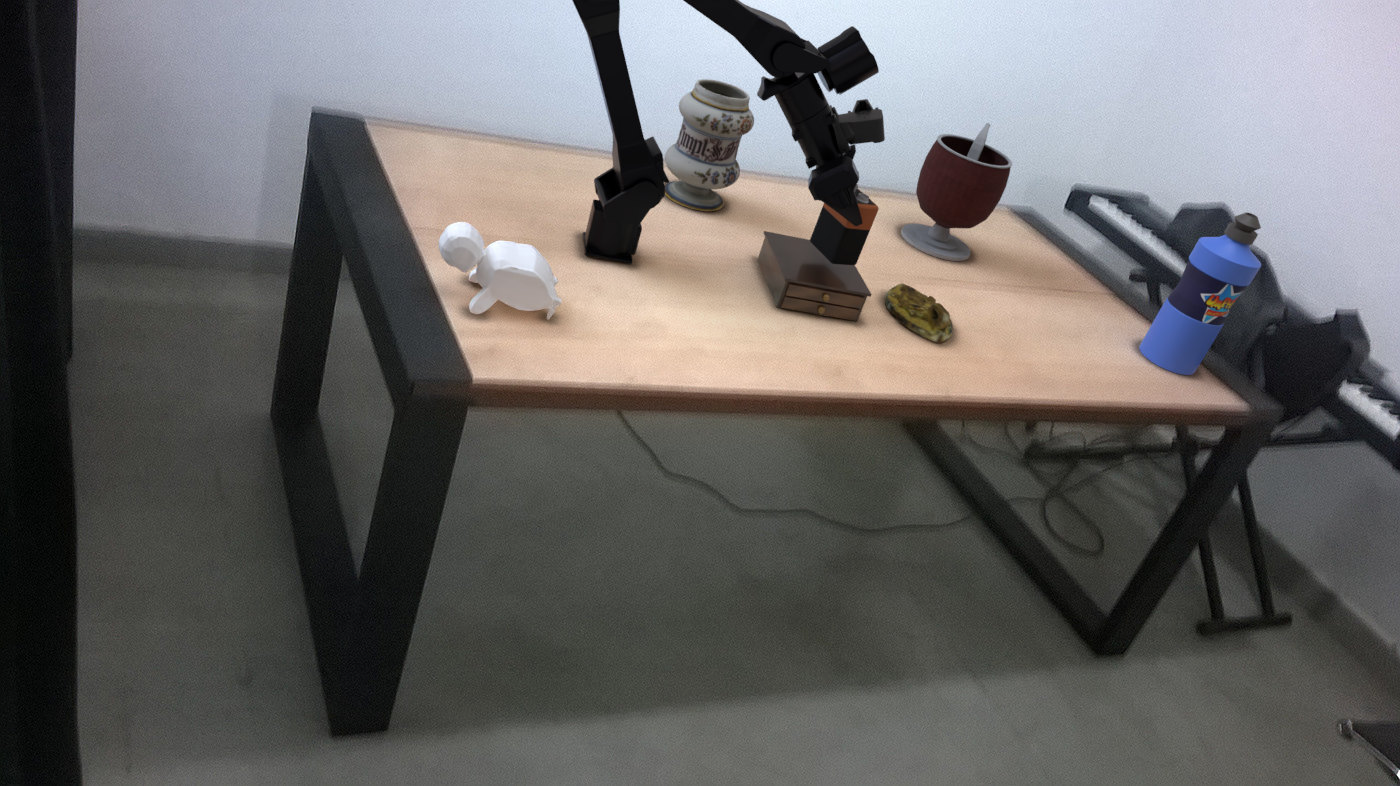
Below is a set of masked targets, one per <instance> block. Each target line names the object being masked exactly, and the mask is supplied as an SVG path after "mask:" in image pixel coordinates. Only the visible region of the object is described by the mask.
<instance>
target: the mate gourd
mask: <svg viewBox="0 0 1400 786" xmlns="http://www.w3.org/2000/svg"><path fill="white" fill-rule="evenodd" d="M990 128H991V124H990V123H989V122H985V125H984V126H983V127H982V128H981V129H980V131H979V133H978V134H977V135H976V137H975V139H973V138H970V137H966V136H961V135H957V134H950V133H943V134H939V135H937V137H936V140H935V141H934V143H933V144H932V145H931V148H930V149H929V151H928V152H927V154H926V156H925V158H924V161H923V163H922V166H921V168H920V170H919V171H920V172H919V175H918V180H917V183H916V190H915V194H916V198H917V202H918V205H919V208H920V209H921V211H922V212H923V213H924V214H925V215H926V216H928V217H929V218H930V219H931V220H932V221H933V222H934V224H933V225H927V224H923V223H922V224H921V223H907V224H904V225H903V226H902V228H901V230H900V235H901V236H902V239H904V240H905V242H907V243H908V244H909V245H910V246H911V247H914V248H915V249H916V250H918V251H920V252H923V253H925V254H927V255H929V256H932V257H934V258H938V259H941V260H945V261H950V262H965V261H967V260H968V259H969V258H970V255H971V249H970V247H969V245H967V244H966V243H965V242H964V241H962V240H961V239H960V238H959V237H957V236H955V235H953V234H951V233H950V232H951V229H972V228H975V227H976V226H978V225H980V224H982V223H983V222H985V221H987V219H989V217H990V216H991V215H992V213H993V212H994V210H996V207H997V206H998V204H999V202H1000V201H1001V199H1002V198H1003V197H1002V196H1003V194H1004V192H1005V191H1006V188H1007V185H1008V181H1009V177H1010V172H1011V168H1012V166H1013V162H1012V159H1010V158H1009V157H1008V156H1007V155H1006V154H1005V153H1003V152H1002V151H1000V150H998V149H996V148H994V147H992V146H991V145H988V144H986V142H987V139H988V138H987V137H988V135H989V130H990Z"/></svg>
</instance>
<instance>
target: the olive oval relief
mask: <svg viewBox="0 0 1400 786" xmlns="http://www.w3.org/2000/svg"><path fill="white" fill-rule="evenodd" d="M936 301H937V299H936V298H934V297H933V296H932V295H929V296H928V295H926V294H924V293H922V292H920V291H919V290H918V289H916V288H914V287H912V286H910V285H908V284H905V283H898V284H897V285H895V286H893V287H891V288H890V289H889V290H888V291H887V292H886V294H885V297H884V304H885V306H886V308H887V310H888V311H889V312H890V313H891V314H892V315H893V316H894V317H895V318H896V319H897V320H898V321H899V322H900V323H901V324H903V325H904V326H905V327H906V328H907V329H909V330H910V331H911V332H914V333H915V334H917V335H919V336H921V337H923V338H925V339H926V340H930V341H932V342H934V343H939V344H940V343H943V342H946V341H948V340H949V339H950V338H951V336H952V335H953V331H954V329H953V328H954V326H953V325H954V324H953V321H952V319H951V315H950V312H949V311H948V310H947V309H946V308H945V307H944V305H943V304H941V303H940V302H936Z"/></svg>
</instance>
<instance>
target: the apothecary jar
mask: <svg viewBox="0 0 1400 786" xmlns="http://www.w3.org/2000/svg"><path fill="white" fill-rule="evenodd" d="M750 99H751V96H750V94H749V92H747V91H745V90H744V89H742V88H740V87H738V86H736V85H734V84H732V83H728V82H725V81H721V80H717V79H710V78H701V79H697V81H695V84H694V87H693V88H692V91H689V92H687V93H686V94H684V95H683V96H682V97H681V98H680V100H679V102H678V111H679V113H680V114H681V115H680V116H682V117H683V118H682V122H681V126H680V130H679V133H678V135H677V136H678V137H677V140H676V142H675V143H673V144H672V145H670V146H669V147H668V148H667V149H666V151H665V154H664V163H665V165H666V167H667V169H668V171H669V172H670V173H671V174H672V175H673V176H674V177H676V178H677V179H678V180H677V181H669V183H665V196H666V197H667V198H668V199H669V200H670V201H672V202H673V203H676V204H678V205H680V206H682V207H684V208H688V209H690V210H695V211H701V212H716V211H719V210H721V209H722V208H723V207H724V200H723V198H722V197H721V195H720V194H719V193H718V192H717V191H714V190H722V189H726V188H728V187H730V186H732V185H734V184H735V183H737V180H738V179H739V178H740V175H741V169H740V168H741V167H740V164H739V162H738V160H737V157H738V156H737V155H738V152H739V147H740V143H741V140H742V137H743V136H744V135H746V134H748V133H749V132H750V131H752V129H753V127H754V125H755V117H754V113H753V112H752V111H751V109H750Z"/></svg>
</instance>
